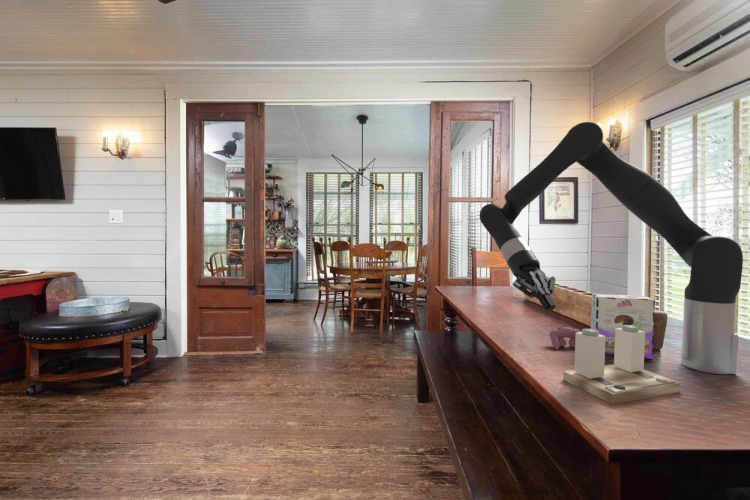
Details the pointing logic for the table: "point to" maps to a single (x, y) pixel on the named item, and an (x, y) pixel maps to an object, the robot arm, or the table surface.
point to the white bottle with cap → (589, 353)
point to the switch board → (623, 384)
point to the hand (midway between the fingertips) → (551, 309)
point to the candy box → (623, 318)
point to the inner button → (629, 348)
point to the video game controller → (563, 336)
